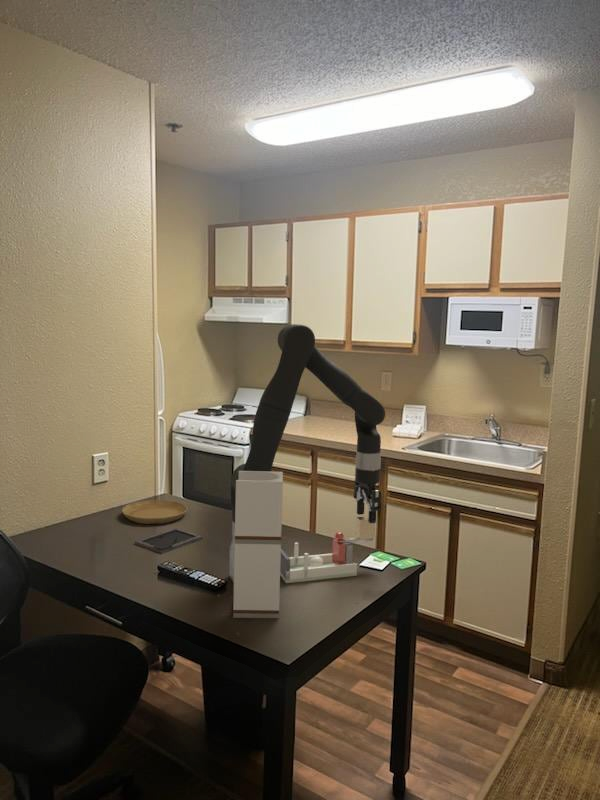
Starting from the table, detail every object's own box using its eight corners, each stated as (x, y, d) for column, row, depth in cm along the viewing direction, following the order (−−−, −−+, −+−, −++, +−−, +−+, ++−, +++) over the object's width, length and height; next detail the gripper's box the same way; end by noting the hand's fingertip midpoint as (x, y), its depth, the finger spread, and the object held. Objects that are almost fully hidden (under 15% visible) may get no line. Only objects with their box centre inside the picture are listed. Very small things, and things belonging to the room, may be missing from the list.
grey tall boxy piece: (278, 599, 163) (282, 471, 159) (278, 618, 153) (282, 481, 149) (236, 598, 163) (238, 470, 159) (233, 617, 152) (236, 480, 148)
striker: (337, 567, 181) (339, 523, 180) (331, 561, 186) (332, 517, 184) (374, 563, 185) (376, 520, 184) (367, 557, 190) (369, 515, 188)
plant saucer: (168, 504, 248) (169, 496, 247) (199, 519, 229) (199, 510, 229) (111, 514, 232) (111, 505, 232) (139, 531, 214) (139, 522, 214)
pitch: (286, 583, 174) (286, 556, 173) (276, 569, 183) (276, 544, 182) (356, 575, 181) (357, 549, 180) (343, 563, 190) (344, 538, 189)
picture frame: (162, 555, 193) (202, 540, 208) (162, 549, 193) (202, 534, 208) (134, 545, 201) (175, 532, 215) (134, 539, 201) (175, 526, 215)
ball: (312, 572, 179) (312, 559, 179) (307, 567, 183) (308, 554, 183) (325, 571, 181) (325, 558, 180) (320, 566, 184) (320, 553, 184)
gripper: (347, 461, 189) (345, 512, 191) (366, 472, 175) (364, 526, 177) (369, 460, 191) (367, 510, 193) (390, 471, 178) (387, 524, 180)
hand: (366, 518), depth 185 cm, fingers open, 8 cm apart
